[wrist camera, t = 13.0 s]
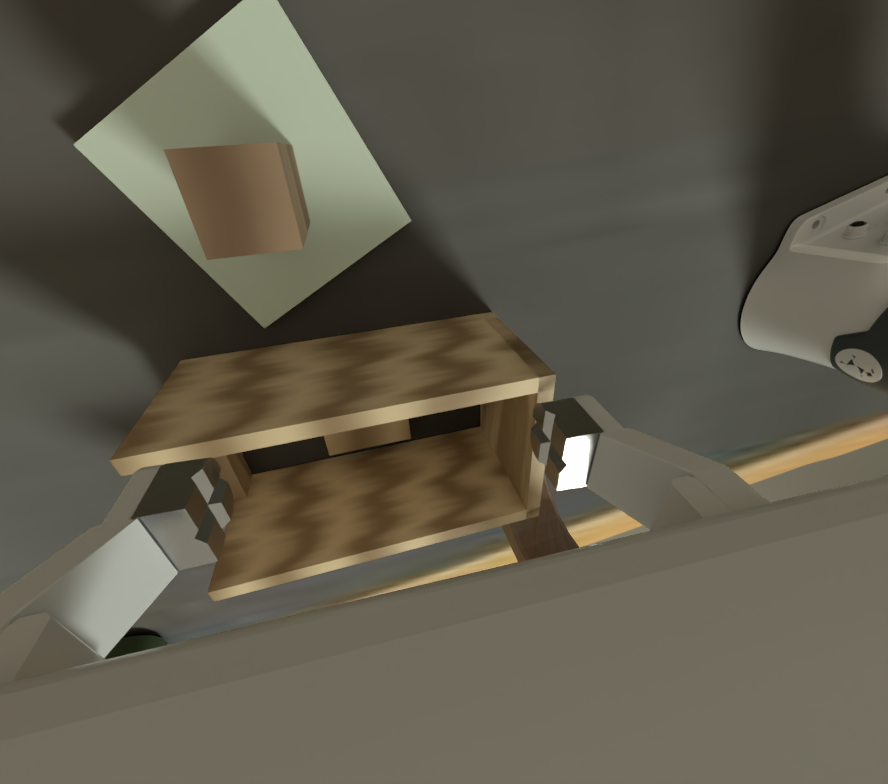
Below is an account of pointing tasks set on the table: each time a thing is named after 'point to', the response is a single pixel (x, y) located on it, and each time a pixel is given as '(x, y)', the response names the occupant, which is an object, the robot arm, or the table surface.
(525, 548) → the decorative block
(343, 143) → the sage board
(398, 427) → the oak cubby
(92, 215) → the table surface
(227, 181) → the walnut block
